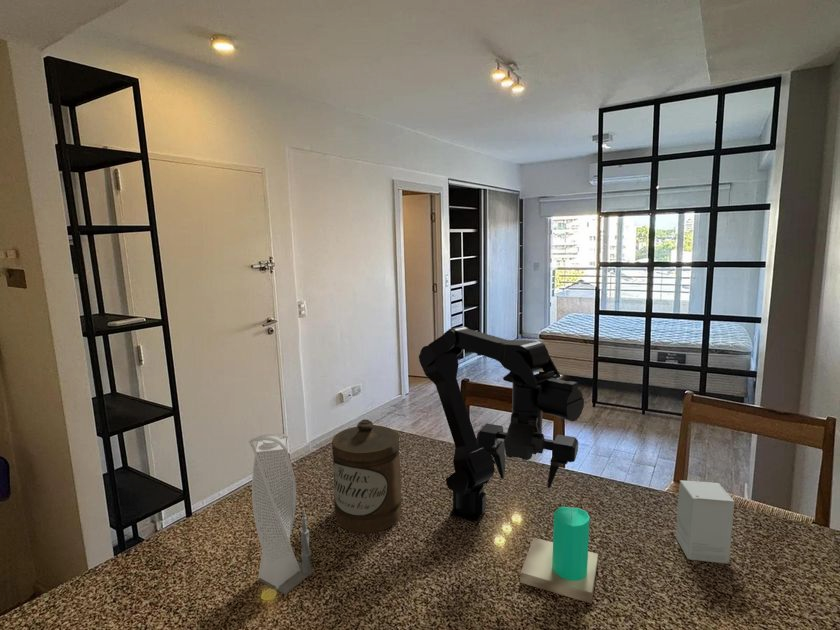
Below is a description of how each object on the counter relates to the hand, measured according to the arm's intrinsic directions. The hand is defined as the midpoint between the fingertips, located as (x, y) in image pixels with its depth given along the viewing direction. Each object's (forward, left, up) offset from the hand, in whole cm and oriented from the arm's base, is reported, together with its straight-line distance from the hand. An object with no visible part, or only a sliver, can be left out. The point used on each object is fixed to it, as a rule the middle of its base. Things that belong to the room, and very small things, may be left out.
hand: (525, 482), depth 94 cm
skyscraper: (-38, -28, -13) cm, 49 cm away
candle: (+10, -7, -11) cm, 16 cm away
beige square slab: (+8, -6, -13) cm, 16 cm away
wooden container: (-34, -4, -13) cm, 37 cm away
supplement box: (+32, +12, -13) cm, 37 cm away
